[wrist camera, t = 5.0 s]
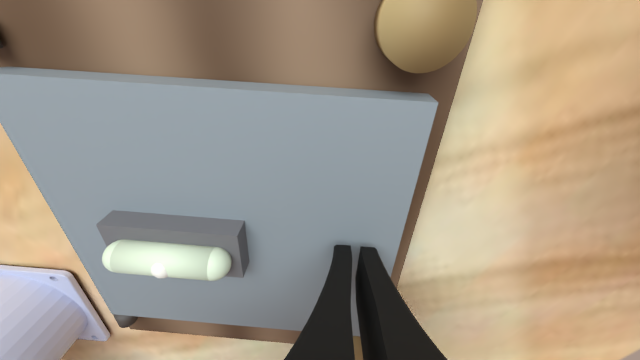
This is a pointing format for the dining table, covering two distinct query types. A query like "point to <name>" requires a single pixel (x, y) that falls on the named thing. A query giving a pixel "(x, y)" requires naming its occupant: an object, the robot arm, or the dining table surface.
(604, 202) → the dining table surface
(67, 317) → the robot arm
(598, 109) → the dining table surface
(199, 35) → the walnut base
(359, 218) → the level board
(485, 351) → the dining table surface
